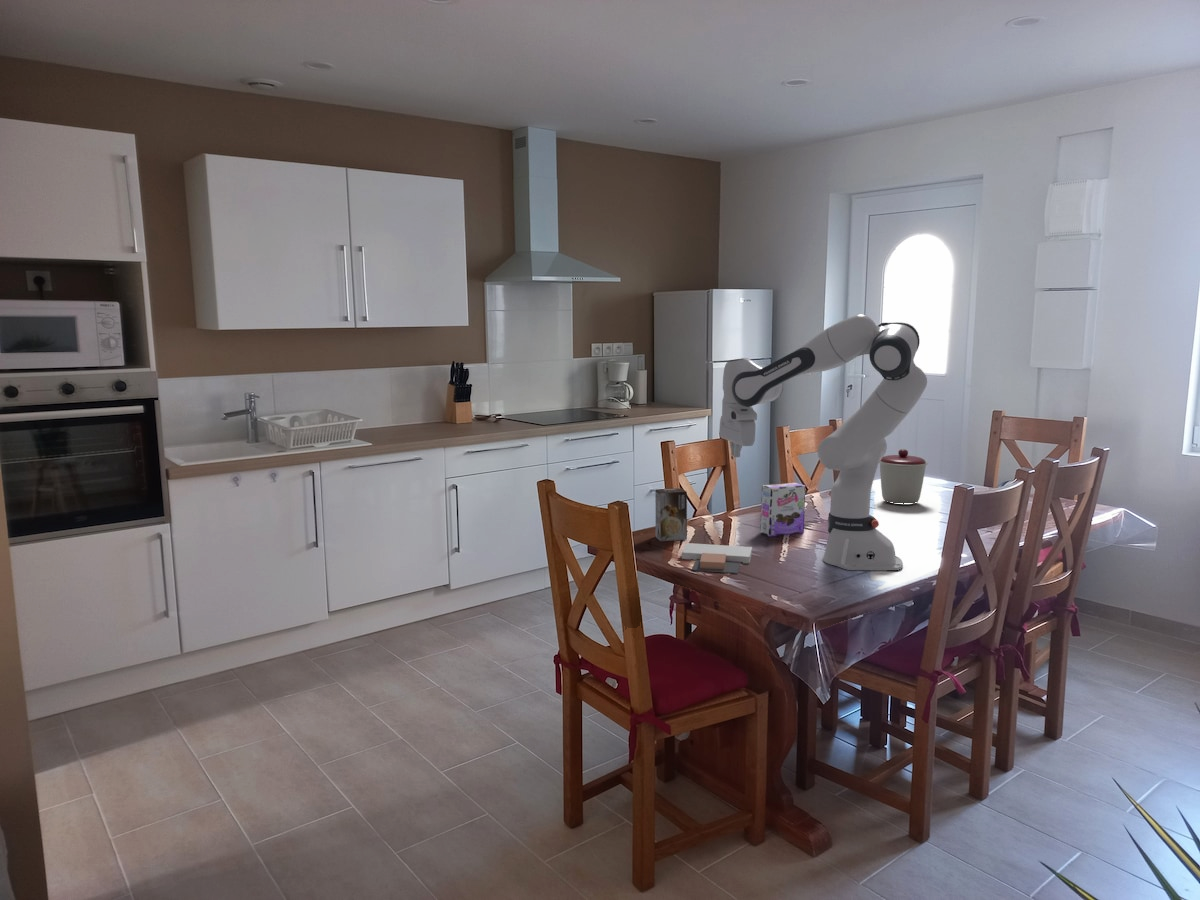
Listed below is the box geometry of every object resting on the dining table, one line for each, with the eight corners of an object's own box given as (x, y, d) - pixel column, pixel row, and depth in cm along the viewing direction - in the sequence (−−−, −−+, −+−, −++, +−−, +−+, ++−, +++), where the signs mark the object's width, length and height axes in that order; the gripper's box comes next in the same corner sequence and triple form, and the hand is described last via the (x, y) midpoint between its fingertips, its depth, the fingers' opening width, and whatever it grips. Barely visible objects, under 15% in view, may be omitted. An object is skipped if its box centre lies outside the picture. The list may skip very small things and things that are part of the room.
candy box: (769, 537, 281) (770, 487, 278) (759, 532, 286) (760, 484, 284) (804, 533, 286) (806, 484, 284) (794, 529, 291) (796, 481, 289)
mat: (740, 563, 251) (740, 562, 251) (737, 574, 240) (737, 572, 240) (696, 560, 254) (696, 559, 254) (691, 570, 243) (691, 569, 243)
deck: (751, 553, 261) (752, 547, 261) (749, 563, 251) (749, 556, 250) (686, 549, 266) (687, 543, 266) (681, 558, 255) (681, 552, 255)
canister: (866, 499, 338) (869, 446, 335) (905, 496, 344) (908, 444, 340) (895, 509, 321) (898, 453, 318) (935, 506, 327) (938, 451, 323)
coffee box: (681, 535, 283) (682, 487, 281) (687, 540, 277) (688, 491, 274) (654, 536, 281) (655, 488, 279) (659, 541, 275) (660, 492, 273)
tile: (725, 560, 252) (726, 554, 252) (724, 569, 243) (724, 562, 243) (702, 559, 253) (702, 552, 253) (699, 568, 245) (700, 561, 244)
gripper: (714, 408, 269) (713, 451, 271) (739, 415, 250) (738, 462, 252) (733, 408, 271) (732, 451, 273) (759, 415, 251) (758, 461, 253)
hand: (735, 456), depth 262 cm, fingers closed
